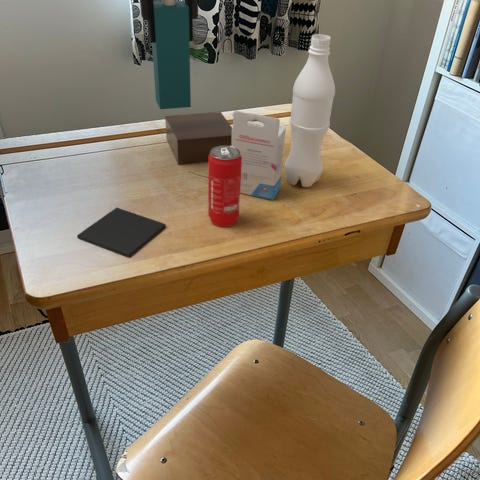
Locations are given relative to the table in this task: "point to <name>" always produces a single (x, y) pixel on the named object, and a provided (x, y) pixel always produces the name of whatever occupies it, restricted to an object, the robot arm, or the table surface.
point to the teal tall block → (171, 54)
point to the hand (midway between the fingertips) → (170, 39)
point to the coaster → (122, 232)
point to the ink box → (259, 153)
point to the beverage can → (224, 185)
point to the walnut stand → (196, 135)
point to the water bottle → (310, 114)
